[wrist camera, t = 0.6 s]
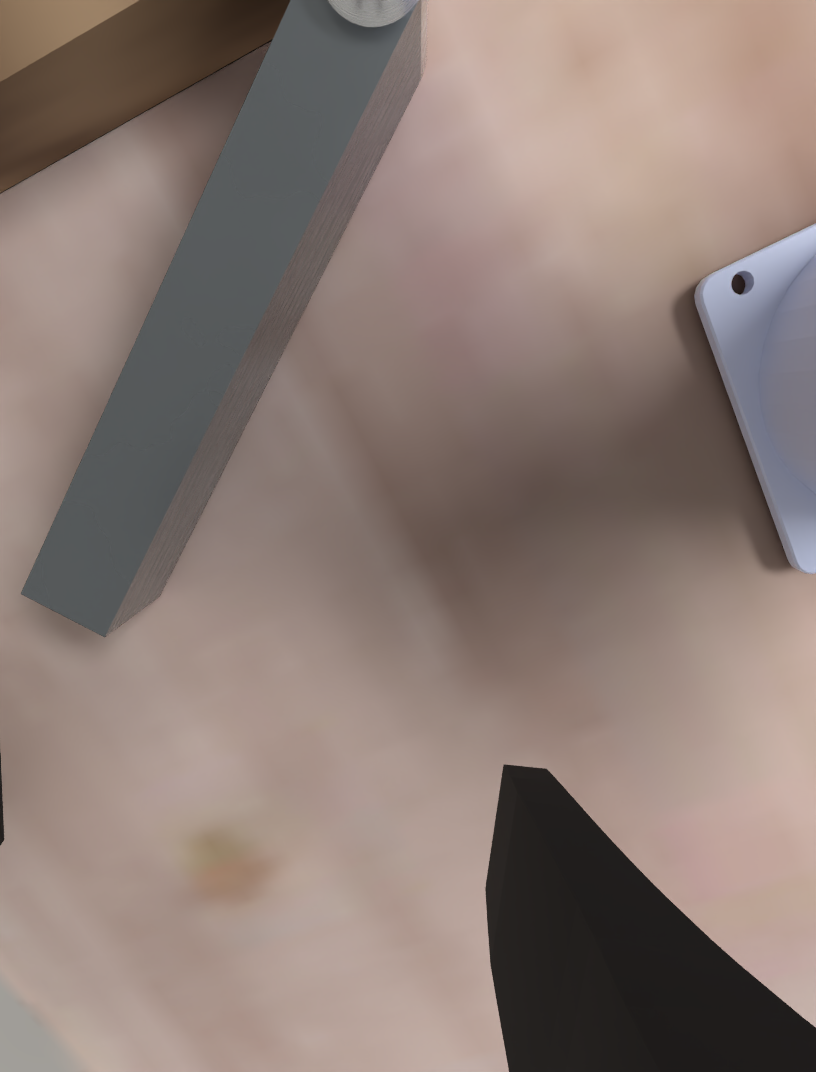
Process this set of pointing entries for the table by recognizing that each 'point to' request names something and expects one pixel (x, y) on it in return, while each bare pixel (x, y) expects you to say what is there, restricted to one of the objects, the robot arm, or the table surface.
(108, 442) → the hinged leg
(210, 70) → the stool seat
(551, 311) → the table surface
